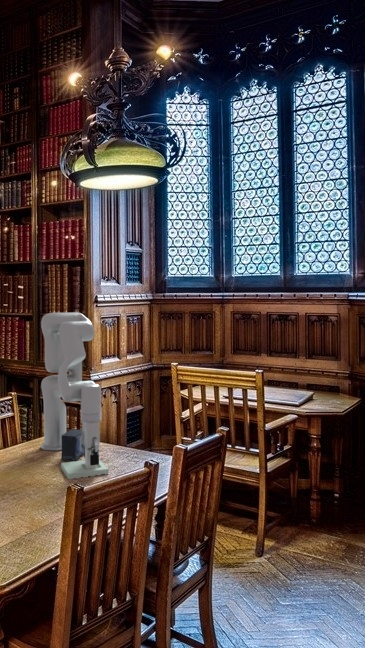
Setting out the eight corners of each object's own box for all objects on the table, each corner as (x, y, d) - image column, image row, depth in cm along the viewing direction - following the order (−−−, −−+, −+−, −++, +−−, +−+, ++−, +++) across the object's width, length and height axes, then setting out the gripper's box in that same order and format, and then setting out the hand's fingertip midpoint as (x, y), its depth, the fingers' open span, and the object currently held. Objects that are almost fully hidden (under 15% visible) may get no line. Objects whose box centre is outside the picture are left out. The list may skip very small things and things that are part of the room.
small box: (75, 461, 223) (75, 436, 222) (60, 460, 224) (60, 435, 224) (85, 454, 233) (85, 429, 233) (71, 453, 235) (70, 428, 234)
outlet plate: (61, 468, 215) (60, 463, 215) (98, 463, 221) (98, 458, 221) (68, 479, 202) (68, 474, 202) (108, 474, 208) (108, 468, 208)
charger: (84, 470, 213) (84, 444, 212) (95, 468, 214) (95, 443, 214) (87, 473, 209) (87, 447, 208) (97, 472, 211) (97, 446, 210)
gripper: (76, 413, 217) (76, 456, 218) (86, 422, 201) (87, 469, 202) (94, 411, 220) (95, 453, 221) (106, 420, 204) (107, 466, 205)
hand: (91, 461), depth 211 cm, fingers open, 9 cm apart
